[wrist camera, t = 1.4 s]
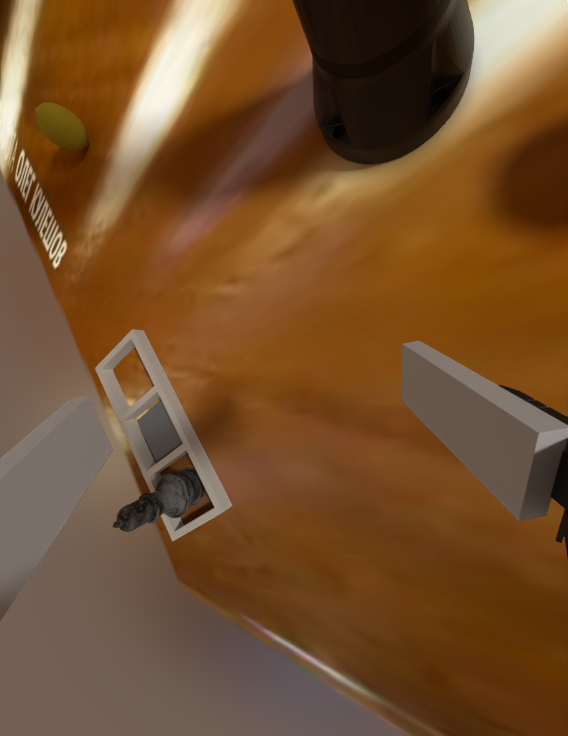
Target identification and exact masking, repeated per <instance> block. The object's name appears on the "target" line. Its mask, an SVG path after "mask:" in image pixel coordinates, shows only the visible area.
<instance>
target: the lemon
mask: <svg viewBox="0 0 568 736" xmlns="http://www.w3.org/2000/svg"><path fill="white" fill-rule="evenodd" d="M34 112H35V118H36V122H37V125H38V127H39V128H40V130H41V131H42V133H43V134H44V135H45V136H46V137H47V138H48V139H49V140H51V141H52V142H53V143H54V144H56V145H57V146H59V147H61V148H63V149H65V150H68V151H72V152H77V151H81V150H83V149H84V148H85V147H88V146H89V142H88V135H87V131H86V129H85V127H84V125H83V123H82V122H81V121H80V120H79V119H78V118H77V117H76V116H75V115H74V114H73V113H72V112H70V111H69V110H67V109H66V108H64V107H62V106H60V105H58V104H55V103H51V102H45V103H42V104H40V105H39V106H38V107H35V108H34Z"/></svg>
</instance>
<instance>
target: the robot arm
mask: <svg viewBox="0 0 568 736" xmlns="http://www.w3.org/2000/svg"><path fill="white" fill-rule="evenodd" d="M293 3H294V6H295V8H296V11H297V14H298V17H299V19H300V22H301V25H302V28H303V30H304V33H305V36H306V39H307V41H308V44H309V47H310V50H311V53H312V59H313V97H314V109H315V114H316V118H317V122H318V124H319V127H320V129H321V131H322V134H323V136H324V138H325V140H326V142H327V143H328V145H329V146H330V147H331V149H332V150H333V151H334V152H336V153H337V154H338V155H340V156H341V157H343V158H345V159H347V160H349V161H353V162H357V163H365V164H373V163H381V162H386V161H390V160H393V159H396V158H398V157H401V156H403V155H405V154H407V153H409V152H411V151H413V150H414V149H416V148H418V147H419V146H420V145H422V144H423V143H425V142H426V141H427V140H428V139H430V138H431V137H432V136H433V135H434V134H435V133H436V132H437V131H438V130H439V129H440V128H441V127H442V126H443V125H444V124H445V123H446V121H447V120H448V119H449V118H450V116H451V115H452V113H453V112H454V110H455V109H456V107H457V106H458V104H459V102H460V100H461V98H462V96H463V94H464V91H465V89H466V86H467V83H468V80H469V76H470V70H471V64H472V58H473V51H474V27H473V21H472V18H471V14H470V10H469V6H468V2H467V0H293ZM401 401H402V402H403V403H404V404H405V405H406V406H407V407H408V408H409V409H410V410H411V411H412V412H413V413H414V414H415V415H416V416H417V417H418V418H419V419H420V420H421V421H422V422H423V423H424V424H425V425H426V426H427V427H428V428H429V429H430V430H431V431H432V432H433V433H434V434H435V436H436V437H437V438H438V439H439V440H440V441H441V442H442V443H443V444H444V445H445V446H446V447H447V448H448V449H449V450H450V451H451V452H452V453H453V454H454V455H455V456H456V457H457V458H458V459H459V460H460V461H461V462H462V463H463V464H464V465H465V466H466V467H467V468H468V469H469V471H470V472H471V473H472V474H473V475H474V476H475V477H476V478H477V479H478V480H479V481H480V482H481V483H482V484H483V485H484V486H485V487H486V488H487V489H488V490H489V491H490V492H491V493H492V494H493V495H494V496H495V497H496V498H497V499H498V500H499V501H500V502H501V503H502V504H503V506H504V507H505V508H506V509H507V510H508V511H509V512H510V513H511V514H512V515H513V516H514V517H515V518H516V519H517V520H518V521H522V520H527V519H532V518H537V517H542V516H547V512H548V508H549V505H550V501H551V498H553V499H554V500H555V501H557V502H558V503H559V504H560V505H561V506H563V507H564V508H565V510H564V514H563V517H562V520H561V523H560V527H559V530H558V533H557V537H556V541H557V542H560V543H562V539H563V537H564V536H565V543H566V549H567V556H568V417H566V416H565V415H563V414H561V413H559V412H557V411H555V410H553V409H552V408H550V407H548V408H547V407H546V405H544V404H542V403H541V402H539V401H537V400H536V401H534V399H533V398H531V397H530V396H528V395H526V394H524V393H522V392H520V391H518V390H515V389H512V388H509V387H506V386H502V385H496V384H494V383H493V382H491V381H489V380H487V379H486V378H484V377H482V376H480V375H479V374H477V373H475V372H473V371H472V370H470V369H468V368H466V367H465V366H463V365H461V364H459V363H458V362H456V361H454V360H452V359H451V358H449V357H447V356H445V355H444V354H442V353H440V352H438V351H437V350H435V349H433V348H431V347H430V346H428V345H426V344H424V343H422V342H421V341H415V342H409V343H403V344H402V380H401ZM112 451H113V450H112V447H111V445H110V443H109V440H108V438H107V436H106V434H105V431H104V429H103V427H102V424H101V422H100V420H99V417H98V415H97V413H96V411H95V408H94V406H93V404H92V401H91V399H90V397H89V396H83V397H77V398H71V399H69V400H68V401H67V402H65V403H64V404H63V405H62V406H61V407H60V408H58V409H57V410H56V411H55V412H54V413H53V414H52V415H50V416H49V417H48V418H47V419H46V420H45V421H43V422H42V423H41V424H40V425H39V426H38V427H37V428H35V429H34V430H33V431H32V432H31V433H30V434H29V435H27V436H26V437H25V438H24V439H23V440H21V441H20V442H19V443H18V444H17V445H16V446H15V447H13V448H12V449H11V450H10V451H9V452H8V453H6V454H5V455H4V456H3V457H2V458H1V459H0V621H1V619H2V618H3V616H4V615H5V613H6V612H7V610H8V609H9V607H10V606H11V604H12V603H13V601H14V600H15V598H16V597H17V595H18V594H19V592H20V591H21V589H22V588H23V586H24V584H25V583H26V581H27V580H28V578H29V577H30V575H31V574H32V572H33V571H34V569H35V568H36V566H37V565H38V563H39V562H40V560H41V559H42V557H43V556H44V554H45V553H46V551H47V550H48V548H49V547H50V545H51V544H52V542H53V540H54V539H55V537H56V536H57V534H58V533H59V531H60V530H61V528H62V527H63V525H64V524H65V522H66V521H67V519H68V518H69V516H70V515H71V513H72V512H73V510H74V509H75V507H76V506H77V504H78V503H79V501H80V500H81V498H82V496H83V495H84V494H85V492H86V490H87V489H88V487H89V486H90V484H91V483H92V481H93V480H94V478H95V477H96V475H97V474H98V472H99V471H100V469H101V468H102V466H103V465H104V463H105V462H106V460H107V458H108V457H109V456H110V454H111V453H112Z"/></svg>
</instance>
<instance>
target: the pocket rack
mask: <svg viewBox="0 0 568 736" xmlns="http://www.w3.org/2000/svg"><path fill="white" fill-rule="evenodd" d="M134 347H136V349H137V351H138V353H139V356H140V358H141V360H142V362H143V364H144V366H145V368H146V370H147V372H148V374H149V376H150V378H151V380H152V382H153V384H154V387H152V388H151V389H150V390H149V391H148V392H147V393H146V394H145V395H144V396H142V397H141V398H140V399H139V400H138V401H137V402H136V403H135V404H133V405H132V406H131V407H129V405H128V403H127V400H126V398H125V396H124V394H123V392H122V390H121V387H120V385H119V383H118V381H117V379H116V377H115V375H114V372H113V370H112V369H113V368H114V367H115V366H116V365H117V364H118V363H119V362H120V361H121V360H122V359H123V358H124V357H125V356H126V355H127V354H128V353H129V352H130V351H131V350H132V349H133V348H134ZM95 369H96V372H97V374H98V376H99V378H100V381H101V383H102V385H103V387H104V390H105V392H106V394H107V396H108V398H109V401H110V403H111V405H112V407H113V410H114V412H115V414H116V416H117V419H118V421H119V423H120V425H121V427H122V430H123V432H124V434H125V436H126V439H127V441H128V443H129V445H130V448H131V450H132V452H133V454H134V457H135V459H136V461H137V463H138V465H139V468H140V470H141V472H142V474H143V477H144V479H145V481H146V483H147V486H148V488H149V490H150V492H151V493H153V492H155V490H156V485H157V482H158V480H159V479H160V478H161V477H162V476H161V474H160V472H162V471H163V470H164V469H166V468H167V467H169V466H170V465H171V464H173V463H174V462H176V461H177V460H178V459H180V458H181V457H182V456H184V455H185V454H187V453H188V455H189V457H190V459H191V461H192V463H193V465H194V467H195V469H196V471H197V473H198V475H199V477H200V479H201V481H202V483H203V485H204V487H205V489H206V491H207V493H208V495H209V497H210V499H211V501H212V503H213V506H214V508H212V509H210V510H209V511H207V512H205V513H204V514H202V515H200V516H199V517H197V518H195V519H194V520H192V521H190V522H189V523H187V524H185V525H184V524H183V521H182V519H181V517H179V518H171V517H168V516H167V515H165V514H162V515H161V517H162V519H163V521H164V524H165V526H166V528H167V530H168V532H169V535H170V537H171V539H172V541H174V540H176V539H178V538H179V537H181V536H183V535H185V534H186V533H188V532H190V531H192V530H193V529H195V528H197V527H198V526H200V525H202V524H204V523H205V522H207V521H209V520H211V519H212V518H214V517H216V516H217V515H219V514H221V513H223V512H224V511H226V510H227V509H228V508H230V507H231V506H232V504H231V502H230V500H229V498H228V496H227V494H226V492H225V490H224V488H223V486H222V484H221V482H220V480H219V478H218V476H217V474H216V472H215V470H214V468H213V466H212V464H211V462H210V460H209V458H208V456H207V455H206V453H205V451H204V449H203V447H202V445H201V443H200V441H199V439H198V437H197V435H196V433H195V431H194V429H193V427H192V425H191V423H190V421H189V419H188V417H187V415H186V413H185V411H184V409H183V407H182V405H181V403H180V401H179V399H178V397H177V396H176V394H175V392H174V390H173V388H172V386H171V384H170V382H169V380H168V378H167V376H166V374H165V372H164V370H163V368H162V366H161V364H160V362H159V360H158V358H157V356H156V354H155V352H154V350H153V348H152V346H151V344H150V342H149V340H148V338H147V337H146V335H145V333H144V331H142V330H134V329H132V330H131V331H130V332H129V333H128V334H127V335H126V336H125V337H124V338H123V339H122V341H121V342H120V343H119V344H118V345H117V346H116V347H115V348H114V349H113V350H112V351H111V352H110V353H109V354H108V355H107V356H106V357H105V358H104V359H103V360H102V361H101V362H100V363H99V364H98V365H97V367H96V368H95ZM159 398H161V401H160V402H158V403H157V404H156V405H155V406H154V407H153V408H151V409H150V410H149V411H148V412H147V413H146V414H144V415H143V416H142V417H141V418H140V419H139V420H137V421H138V423H139V426H140V428H141V430H142V432H143V434H144V436H145V439H146V441H147V443H148V445H149V447H150V449H151V452H152V454H153V456H154V458H155V460H156V462H158V461H159V460H160V461H159V462H158V463H155V461H154V459H153V457H152V454H151V452H150V450H149V448H148V446H147V444H146V442H145V439H144V437H143V435H142V433H141V431H140V429H139V426H138V424H137V422H136V420H135V419H136V418H137V417H138V416H139V415H140V414H141V413H143V412H144V411H145V410H146V409H147V408H148V407H150V406H151V405H152V404H153V403H154V402H155V401H156V400H158V399H159ZM182 443H183V444H182ZM181 444H182V445H181ZM179 445H181V446H179ZM178 446H179V447H178ZM177 447H178V448H177ZM175 448H176V449H175ZM174 449H175V450H174ZM173 450H174V451H173ZM171 451H172V452H171ZM170 452H171V453H170ZM169 453H170V454H169ZM167 454H168V455H167ZM166 455H167V456H166ZM165 456H166V457H165ZM163 457H164V458H163ZM162 458H163V459H162ZM161 459H162V460H161Z"/></svg>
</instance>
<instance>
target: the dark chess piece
mask: <svg viewBox="0 0 568 736" xmlns="http://www.w3.org/2000/svg"><path fill="white" fill-rule="evenodd" d="M204 494H205V487H204V485H203V483H202V481H201V479H200V477H199V475H198V473H197V471H196V470H194V469H191V468H185V469H182V470H181V471H180V472H179V473H178V474H165V475H163V476H162V477H161V478H160V479H159V480H158V482H157V485H156V490H155V492H153V493H151V494H149V493H145V494H143V495H141V496H140V498H139V500H137V501H135V502H133V503H131V504H129V505H127V506H125V507H123V508H122V509H120V511H119V513H118V514H117V522H114V524H113V527H116V528H118V526H119V528H120V529H121V530H122V531H125V532H129V531H133V530H134V529H136V528H138V527H140V526H141V525H143V524H145V523H153V522H155V521H156V520H157V519H158V517H159V516H160V515H162V514H165V515H167V516H168V517H171V518H179V517H181V516H183V515H184V514H185V513H186V511H187V509H188V508H189V507H190V505H196V504H198V503H199V502H201V500H202V499H203V497H204Z"/></svg>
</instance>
